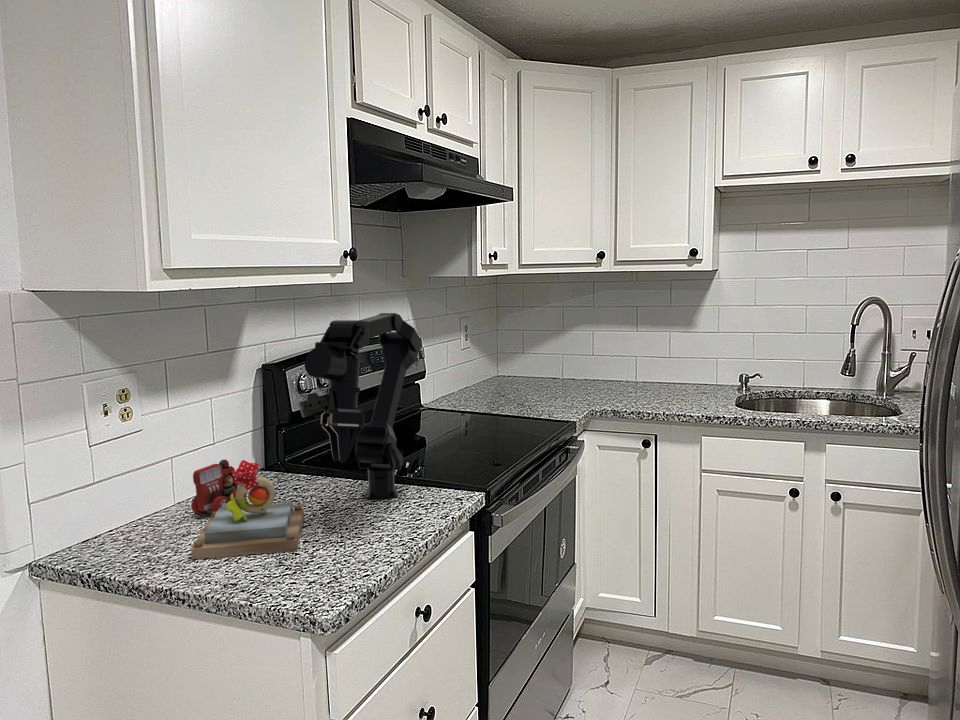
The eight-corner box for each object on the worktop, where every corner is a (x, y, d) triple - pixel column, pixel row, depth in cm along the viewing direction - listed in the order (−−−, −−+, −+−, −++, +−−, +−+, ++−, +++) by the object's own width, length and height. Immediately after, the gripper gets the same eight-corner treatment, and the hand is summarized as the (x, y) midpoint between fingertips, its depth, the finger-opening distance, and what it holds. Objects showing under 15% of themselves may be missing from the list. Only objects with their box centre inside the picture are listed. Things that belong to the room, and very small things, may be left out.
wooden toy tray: (212, 524, 148) (210, 505, 148) (304, 517, 151) (303, 498, 150) (192, 560, 130) (190, 538, 130) (296, 550, 133) (295, 529, 133)
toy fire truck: (253, 503, 161) (249, 456, 160) (212, 522, 150) (208, 472, 148) (228, 499, 164) (224, 454, 162) (186, 518, 153) (182, 469, 151)
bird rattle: (258, 519, 145) (213, 510, 140) (278, 465, 146) (233, 454, 141) (268, 529, 139) (221, 519, 134) (288, 472, 140) (242, 461, 135)
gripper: (298, 382, 154) (293, 458, 152) (307, 376, 136) (302, 462, 134) (351, 386, 157) (347, 460, 156) (367, 380, 140) (363, 464, 138)
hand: (339, 461), depth 146 cm, fingers open, 9 cm apart
